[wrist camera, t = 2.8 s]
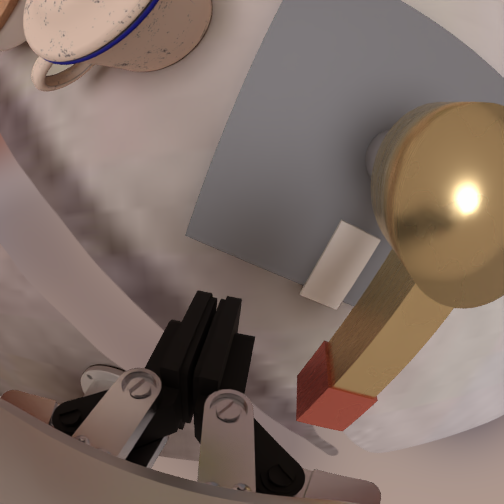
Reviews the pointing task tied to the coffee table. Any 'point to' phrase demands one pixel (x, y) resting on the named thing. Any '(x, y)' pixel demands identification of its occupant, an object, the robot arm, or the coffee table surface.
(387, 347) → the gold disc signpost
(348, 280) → the plate
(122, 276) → the coffee table surface
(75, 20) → the teacup with lid
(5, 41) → the lidded jar
